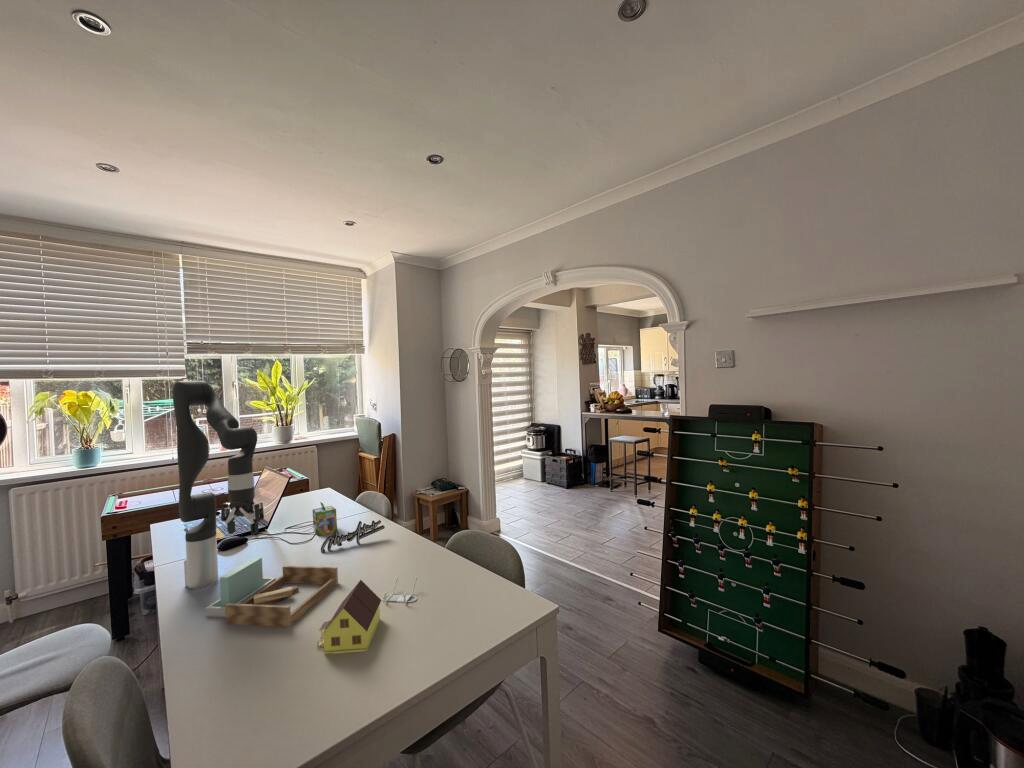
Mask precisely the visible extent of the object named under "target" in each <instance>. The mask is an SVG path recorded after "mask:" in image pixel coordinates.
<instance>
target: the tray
mask: <svg viewBox="0 0 1024 768" xmlns="http://www.w3.org/2000/svg"><path fill="white" fill-rule="evenodd" d="M276 579H277V578H276V577H264V576H263V585H262V586H261V587H259V588H258V589H256V590H255V591H253V592H252V593H250V594H249V595H248V596H246V597H245V598H243V599H242V600H240V601H239V602H237V603H236V604H242V603H243V602H245V601H246V600H248V599H249V598H250V597H252V596H253V595H255V594H256V593H258V592H259V591H261V590H262V589H263V588H265V587H266V586H268V585H269V584H271V583H272V582H273V581H275V580H276ZM205 615H206V617H213V618H226V616H225V607H221V598H219V599H218V600H216V601H214V602H212V603H211V604H210V605H208V606H207V607H205Z"/></svg>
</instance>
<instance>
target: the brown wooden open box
mask: <svg viewBox="0 0 1024 768" xmlns="http://www.w3.org/2000/svg"><path fill="white" fill-rule="evenodd" d="M338 570H339V569H338V567H337V566H313V565H311V566H310V565H309V566H306V565H305V566H304V565H284V566H282V575H281V576H279V577H278V578H276V580H275V581H273V582H272V583H271V584H269V585H268V586H266V587H265V588H263V589H262V590H261V591H259V592H258V593H256V594H255V595H258V594H263V593H267V592H271V591H276V590H278V589H279V588H280V587H281V586H283V585H285V584H286V583H285V582H287V583H290V584H316V585H318V584H319V585H322V586H321V587H319V588H318V589H317V590H316V591H314V593H313V594H311V595H310V596H309V597H308V598H306V599H305V600H304V601H303V602H302V603H301V604H300V605H298V606H297V607H296V608H295V609H294V610H292V611H291V605H280V604H279V605H275V604H271V605H256V604H254V595H253V596H252V597H250V598H249V599H248V600H246V601H245V602H243V603H242V604H232V603H227V604H226V605H225V616H226V617H225V625H240V626H241V625H242V626H243V625H244V626H260V627H262V626H263V627H280V628H290V627H291V625H293V624H294V623H295V622H296V621H297V620H299V618H301V617H302V616H303V615H304V614H305V613H306V612H308V611H309V610H310V609H311V608H312V607H313V606H314V605H315V604H316V603H318V602H319V601H320V600H321V599H322V598H323V597H324V596H326V594H328V593H329V592H330V591H332V589H333V588H335V586H337V584H338V583H339V575H338V574H339V573H338ZM318 600H319V601H318ZM311 606H312V607H311ZM310 607H311V608H310ZM309 608H310V609H309ZM308 609H309V610H308ZM303 613H304V614H303ZM289 626H290V627H289Z"/></svg>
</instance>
